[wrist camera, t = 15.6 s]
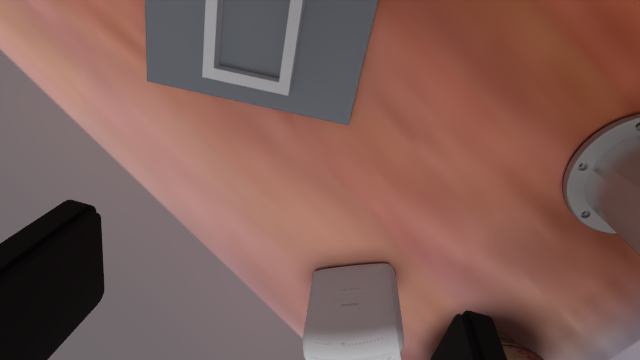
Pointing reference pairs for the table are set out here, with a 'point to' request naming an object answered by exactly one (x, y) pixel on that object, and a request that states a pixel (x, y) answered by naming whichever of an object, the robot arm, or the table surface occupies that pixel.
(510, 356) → the ceramic jug
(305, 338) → the photo printer
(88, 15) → the table surface
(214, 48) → the dock board
